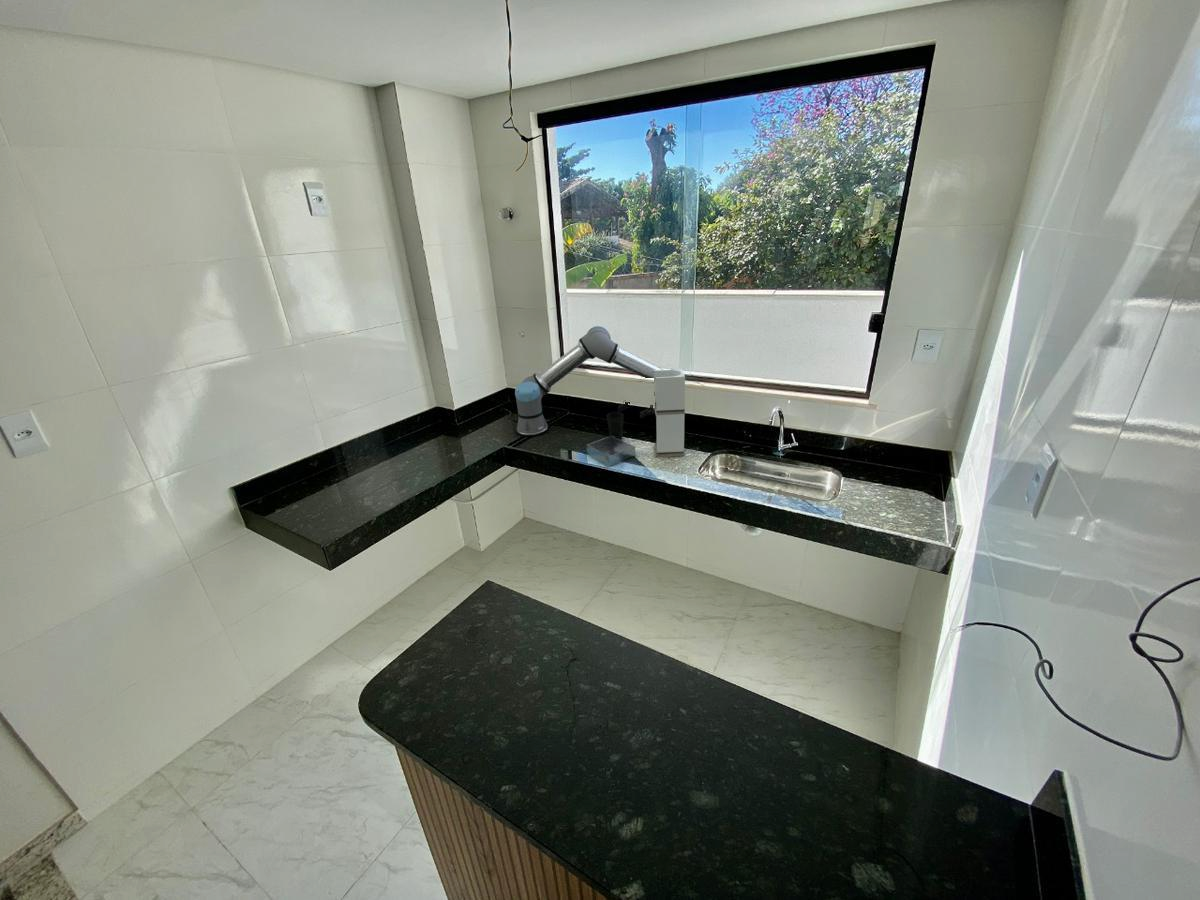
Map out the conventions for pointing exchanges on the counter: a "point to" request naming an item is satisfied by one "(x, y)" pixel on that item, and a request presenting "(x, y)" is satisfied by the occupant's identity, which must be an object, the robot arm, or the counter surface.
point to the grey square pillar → (669, 411)
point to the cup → (615, 424)
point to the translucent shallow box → (610, 450)
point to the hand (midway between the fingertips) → (629, 412)
